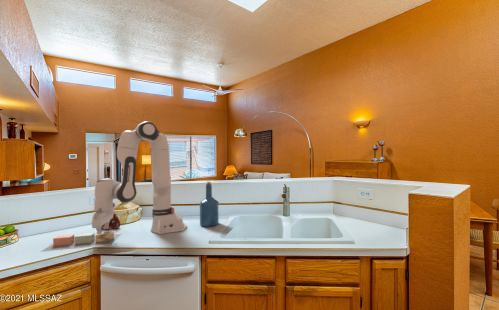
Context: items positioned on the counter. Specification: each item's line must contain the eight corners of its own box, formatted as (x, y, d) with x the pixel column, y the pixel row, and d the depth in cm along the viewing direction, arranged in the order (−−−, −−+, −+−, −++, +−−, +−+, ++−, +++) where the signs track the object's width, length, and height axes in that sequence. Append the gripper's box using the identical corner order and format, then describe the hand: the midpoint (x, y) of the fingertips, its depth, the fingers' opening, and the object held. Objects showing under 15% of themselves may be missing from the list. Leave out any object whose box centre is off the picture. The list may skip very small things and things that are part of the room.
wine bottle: (203, 228, 147) (202, 183, 147) (197, 223, 159) (196, 181, 159) (222, 225, 154) (221, 182, 154) (215, 220, 166) (214, 180, 166)
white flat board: (121, 235, 136) (121, 233, 136) (111, 246, 120) (111, 244, 120) (60, 241, 129) (60, 239, 129) (40, 253, 112) (40, 251, 112)
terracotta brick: (74, 241, 125) (74, 234, 125) (70, 244, 121) (70, 237, 121) (57, 243, 123) (57, 235, 123) (53, 246, 119) (53, 238, 119)
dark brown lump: (115, 231, 145) (115, 215, 145) (98, 231, 146) (97, 215, 146) (122, 227, 151) (122, 212, 151) (106, 227, 153) (105, 212, 153)
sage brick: (94, 239, 127) (94, 232, 127) (91, 242, 123) (91, 235, 123) (78, 241, 125) (78, 234, 125) (74, 243, 121) (74, 236, 121)
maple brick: (114, 237, 129) (114, 231, 129) (111, 240, 126) (111, 233, 126) (98, 239, 128) (98, 232, 128) (95, 242, 124) (95, 234, 124)
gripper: (102, 211, 117) (101, 237, 117) (116, 203, 137) (115, 225, 137) (88, 211, 116) (87, 238, 115) (104, 203, 135) (104, 226, 135)
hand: (103, 231), depth 126 cm, fingers open, 8 cm apart
